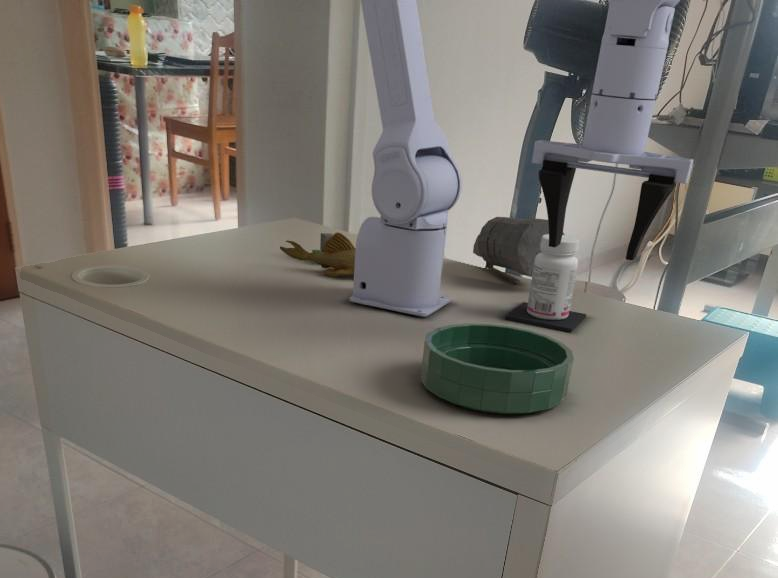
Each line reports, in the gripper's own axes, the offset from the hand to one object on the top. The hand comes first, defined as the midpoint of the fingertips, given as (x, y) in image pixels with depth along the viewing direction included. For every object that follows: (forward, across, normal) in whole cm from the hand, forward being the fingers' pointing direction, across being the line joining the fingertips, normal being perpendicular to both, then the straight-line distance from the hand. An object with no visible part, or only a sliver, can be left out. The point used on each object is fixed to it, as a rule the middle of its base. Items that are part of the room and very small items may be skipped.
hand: (592, 251), depth 83 cm
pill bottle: (+9, -5, +8) cm, 13 cm away
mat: (+9, -5, +8) cm, 13 cm away
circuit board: (+8, -35, +19) cm, 41 cm away
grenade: (+5, -9, +18) cm, 20 cm away
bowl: (+9, -3, -18) cm, 21 cm away
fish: (+10, -33, +8) cm, 36 cm away
